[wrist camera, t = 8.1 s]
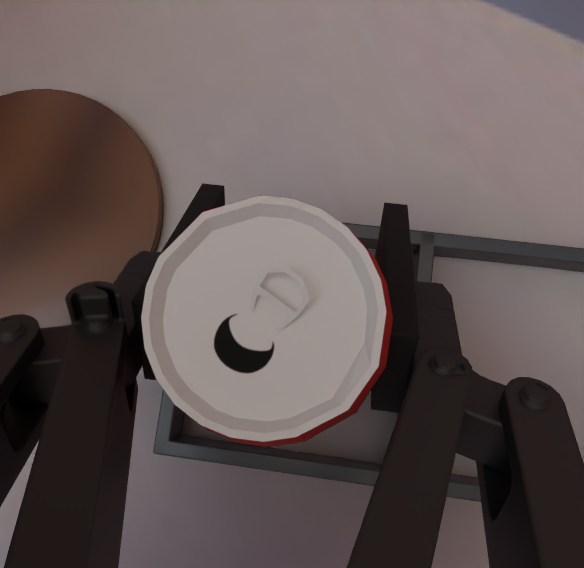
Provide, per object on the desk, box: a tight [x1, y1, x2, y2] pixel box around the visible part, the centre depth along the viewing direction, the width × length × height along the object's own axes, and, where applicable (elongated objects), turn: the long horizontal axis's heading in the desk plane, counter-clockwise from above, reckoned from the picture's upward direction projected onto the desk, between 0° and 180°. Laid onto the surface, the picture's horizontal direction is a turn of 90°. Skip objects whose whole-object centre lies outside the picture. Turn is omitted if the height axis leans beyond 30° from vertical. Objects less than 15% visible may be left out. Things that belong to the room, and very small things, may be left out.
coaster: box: [0, 89, 163, 328], centre depth 24 cm, size 12×12×1 cm
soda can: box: [141, 196, 393, 447], centre depth 16 cm, size 6×6×12 cm
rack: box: [153, 223, 584, 502], centre depth 21 cm, size 20×10×2 cm, turn 83°
